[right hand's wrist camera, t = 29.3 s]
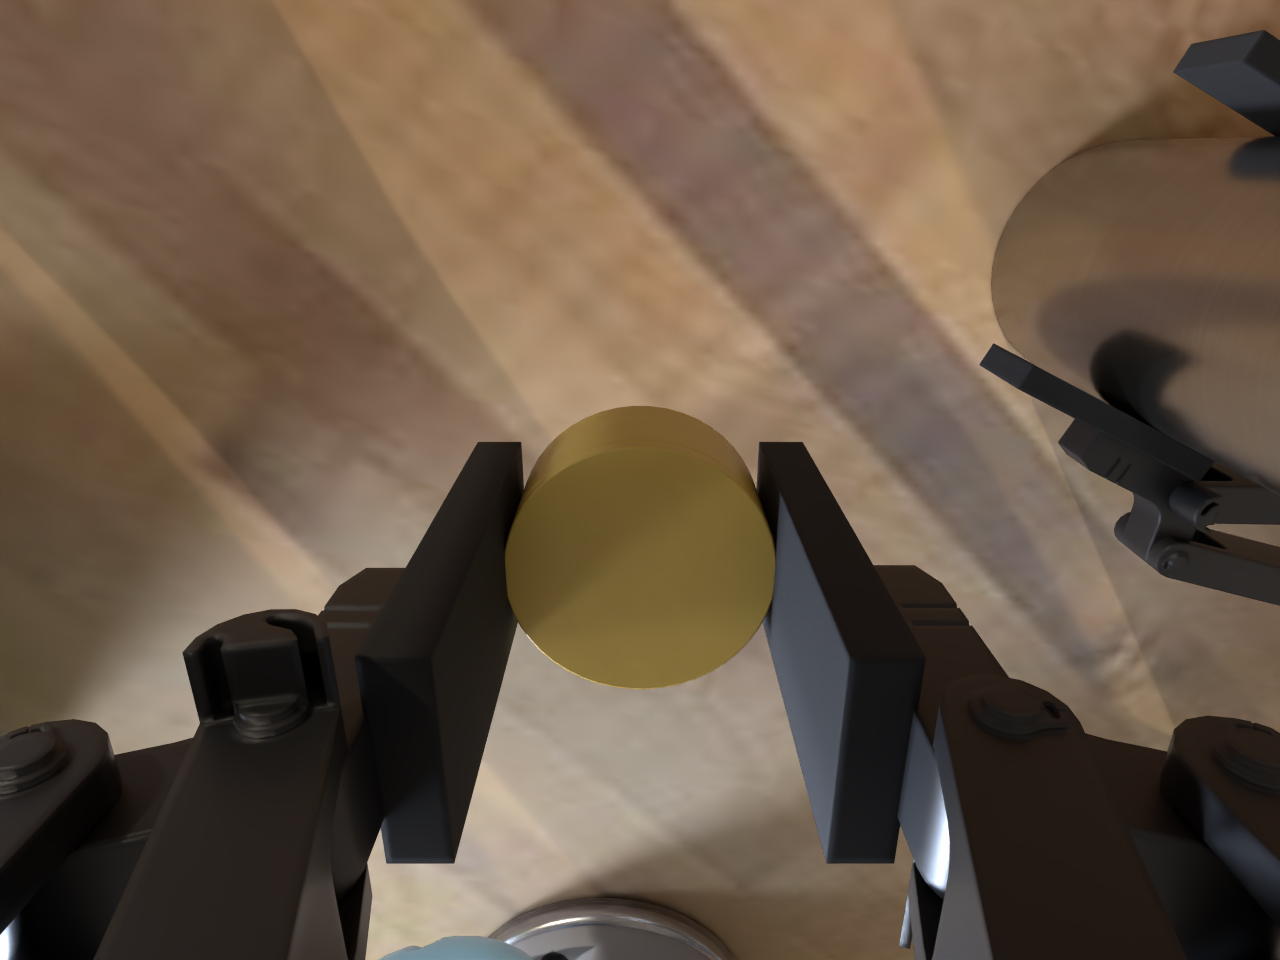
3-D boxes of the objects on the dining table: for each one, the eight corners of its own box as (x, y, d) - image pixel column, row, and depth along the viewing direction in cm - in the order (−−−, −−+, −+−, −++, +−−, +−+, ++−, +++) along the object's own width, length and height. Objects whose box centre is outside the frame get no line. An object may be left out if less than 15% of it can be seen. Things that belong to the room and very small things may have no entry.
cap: (629, 659, 15) (626, 733, 13) (472, 507, 14) (445, 562, 12) (805, 530, 14) (831, 589, 12) (654, 353, 13) (656, 388, 11)
